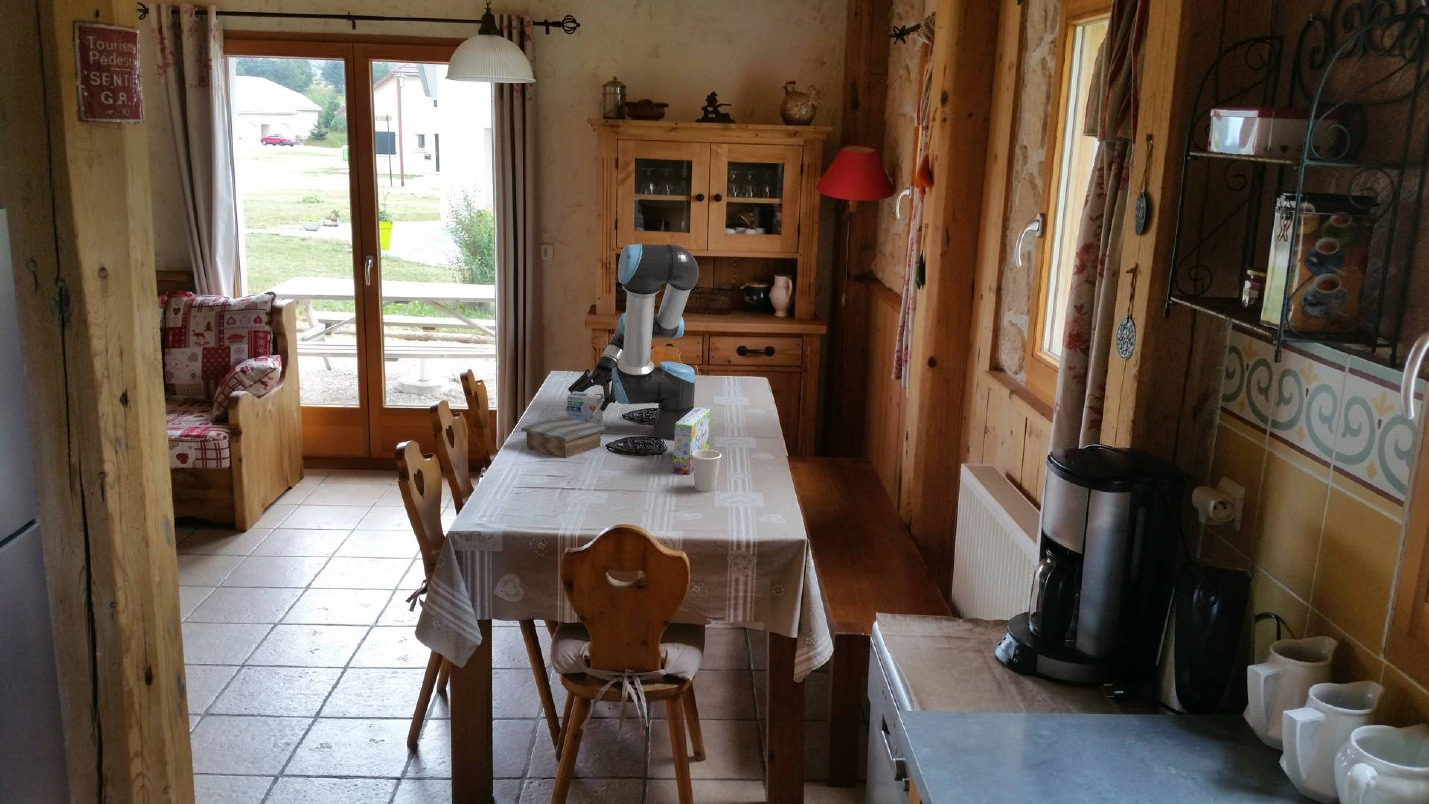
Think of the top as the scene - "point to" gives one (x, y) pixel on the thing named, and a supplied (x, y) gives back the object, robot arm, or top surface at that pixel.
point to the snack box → (690, 438)
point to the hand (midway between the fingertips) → (580, 414)
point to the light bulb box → (584, 406)
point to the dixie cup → (705, 469)
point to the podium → (563, 436)
